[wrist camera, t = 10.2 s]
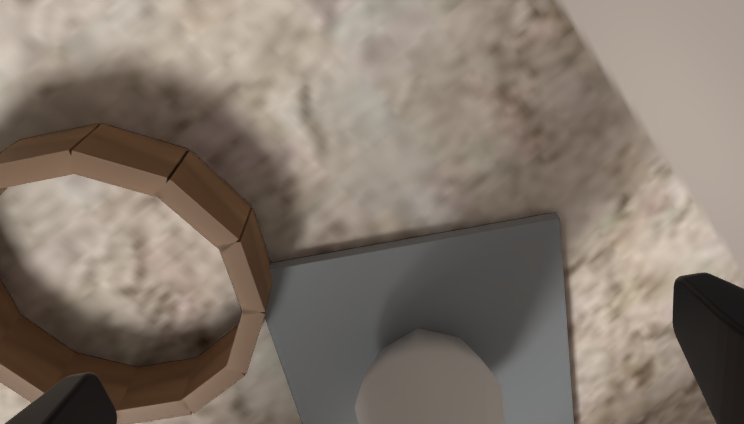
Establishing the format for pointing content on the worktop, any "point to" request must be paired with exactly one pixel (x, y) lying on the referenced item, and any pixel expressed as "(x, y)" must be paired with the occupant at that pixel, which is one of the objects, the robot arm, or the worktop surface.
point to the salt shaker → (429, 384)
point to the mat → (428, 314)
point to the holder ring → (198, 208)
